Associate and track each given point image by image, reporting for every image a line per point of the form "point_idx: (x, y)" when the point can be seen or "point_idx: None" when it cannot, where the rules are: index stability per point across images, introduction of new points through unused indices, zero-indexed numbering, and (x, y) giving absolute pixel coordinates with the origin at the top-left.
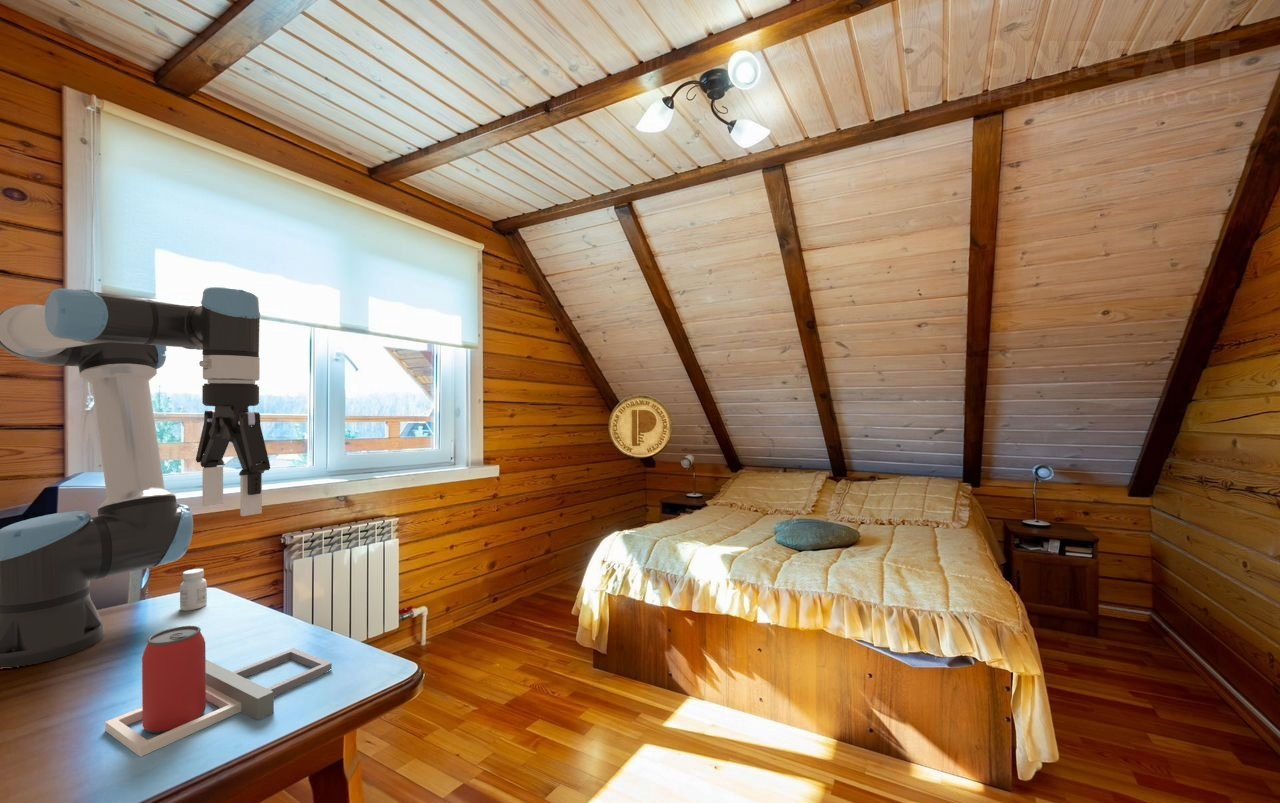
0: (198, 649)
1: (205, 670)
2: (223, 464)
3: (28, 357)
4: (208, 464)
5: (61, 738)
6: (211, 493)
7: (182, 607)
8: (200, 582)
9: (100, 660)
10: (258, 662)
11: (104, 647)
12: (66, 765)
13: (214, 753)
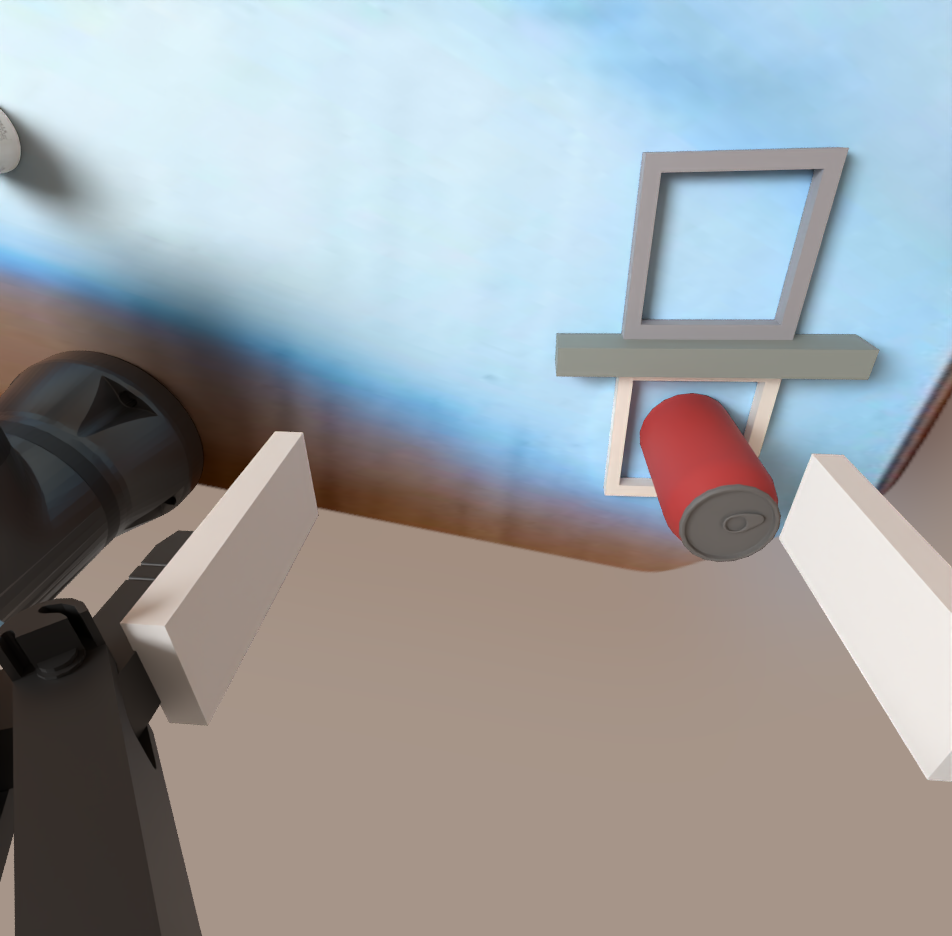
0: (773, 483)
1: (729, 430)
2: (90, 615)
3: None
4: (143, 721)
5: (564, 517)
6: (285, 531)
7: (2, 172)
8: None
9: (268, 401)
10: (637, 255)
11: (190, 374)
12: (656, 535)
13: (856, 441)
